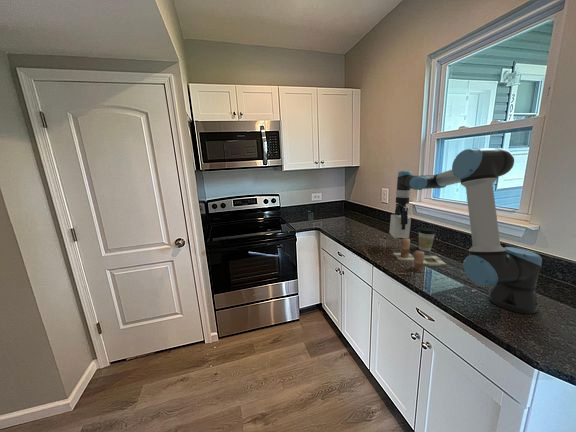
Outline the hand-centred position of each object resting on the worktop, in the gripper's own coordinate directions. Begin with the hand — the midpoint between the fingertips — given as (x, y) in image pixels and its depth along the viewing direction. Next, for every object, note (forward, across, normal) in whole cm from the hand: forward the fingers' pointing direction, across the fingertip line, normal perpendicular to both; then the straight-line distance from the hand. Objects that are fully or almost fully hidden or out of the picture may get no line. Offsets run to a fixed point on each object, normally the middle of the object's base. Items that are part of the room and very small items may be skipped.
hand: (399, 231), depth 156 cm
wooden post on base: (+13, -12, 0) cm, 18 cm away
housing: (+2, 0, 0) cm, 2 cm away
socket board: (+13, -18, -12) cm, 25 cm away
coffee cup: (+13, +1, -17) cm, 22 cm away
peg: (+13, -28, -1) cm, 31 cm away
